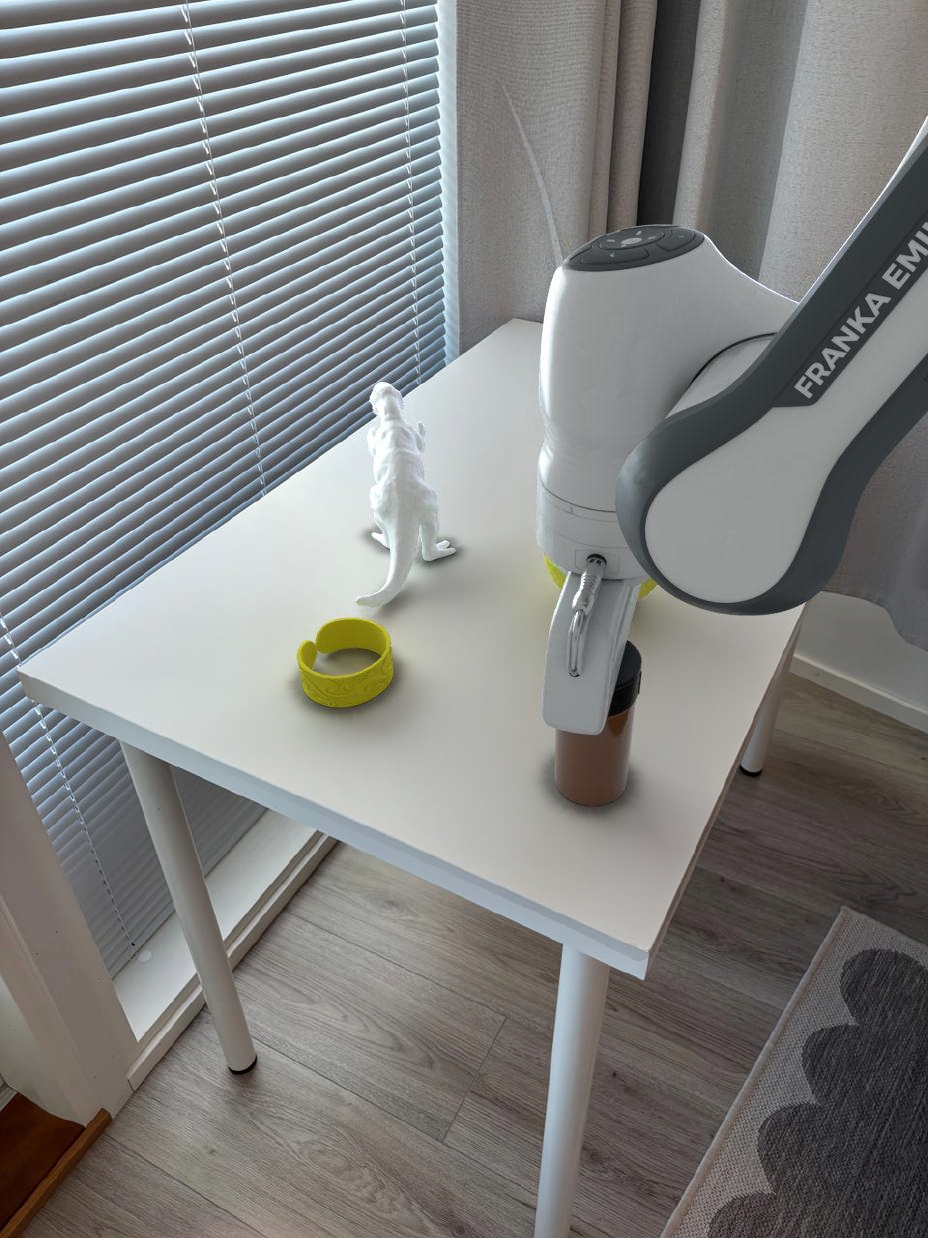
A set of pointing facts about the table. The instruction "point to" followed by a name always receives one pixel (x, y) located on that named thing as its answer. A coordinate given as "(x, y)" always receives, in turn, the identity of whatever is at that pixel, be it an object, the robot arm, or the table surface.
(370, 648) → the bracelet
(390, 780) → the table surface
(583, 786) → the jar
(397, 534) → the dinosaur figurine
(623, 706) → the lid
